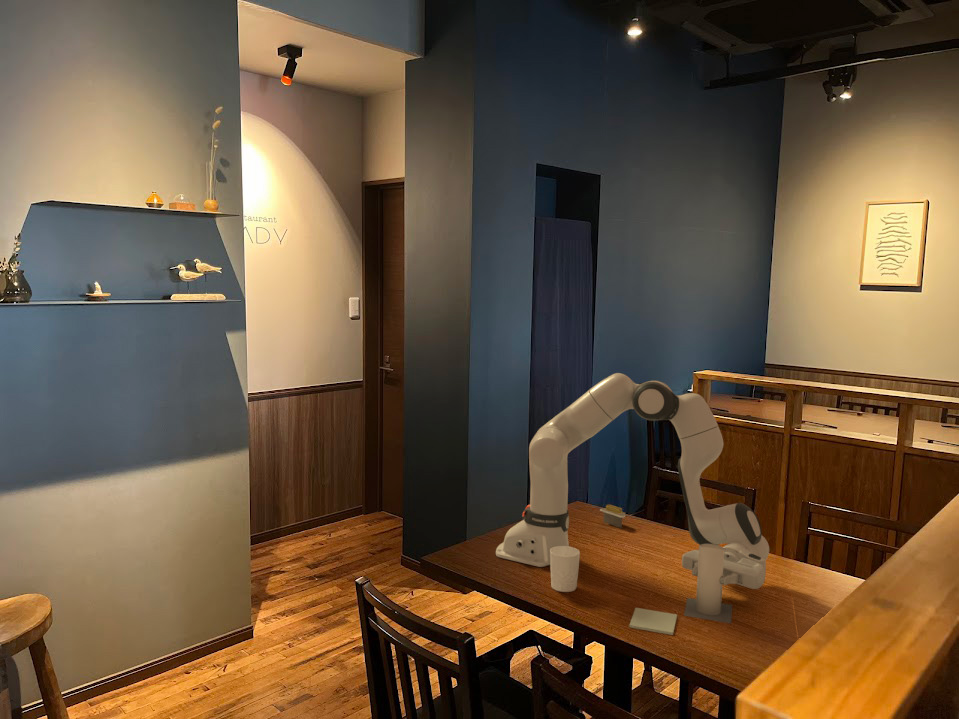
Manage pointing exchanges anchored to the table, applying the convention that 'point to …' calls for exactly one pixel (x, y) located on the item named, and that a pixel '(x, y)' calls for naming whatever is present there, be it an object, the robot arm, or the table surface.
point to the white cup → (564, 568)
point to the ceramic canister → (709, 579)
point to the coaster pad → (653, 621)
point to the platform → (613, 515)
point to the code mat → (722, 617)
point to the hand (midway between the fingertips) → (708, 577)
